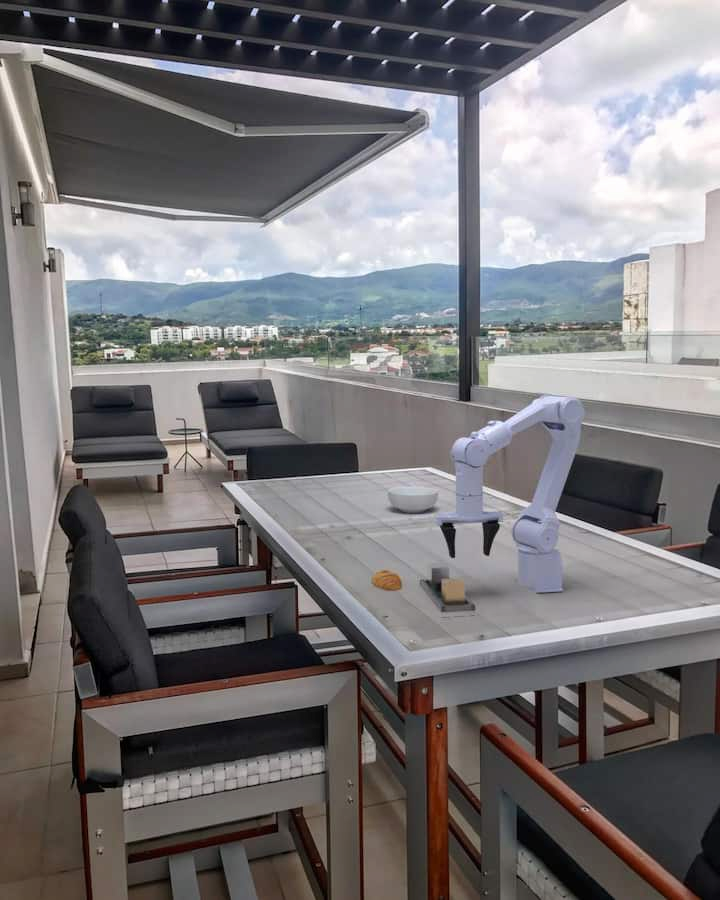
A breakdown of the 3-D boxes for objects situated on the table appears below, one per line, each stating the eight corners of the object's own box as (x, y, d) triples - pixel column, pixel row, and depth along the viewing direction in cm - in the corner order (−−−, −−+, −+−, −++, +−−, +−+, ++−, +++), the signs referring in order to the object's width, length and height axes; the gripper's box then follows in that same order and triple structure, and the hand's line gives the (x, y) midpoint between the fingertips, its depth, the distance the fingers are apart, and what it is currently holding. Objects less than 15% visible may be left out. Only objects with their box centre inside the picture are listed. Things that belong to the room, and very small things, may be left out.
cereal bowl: (422, 517, 263) (422, 496, 262) (378, 512, 272) (378, 491, 271) (446, 508, 277) (446, 488, 276) (404, 504, 286) (404, 484, 285)
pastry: (408, 595, 182) (408, 578, 181) (379, 598, 180) (379, 581, 179) (396, 583, 191) (395, 567, 190) (368, 586, 189) (368, 570, 188)
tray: (449, 587, 186) (449, 578, 186) (475, 615, 167) (475, 605, 166) (419, 589, 185) (419, 579, 185) (441, 617, 166) (441, 607, 165)
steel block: (444, 584, 185) (444, 562, 184) (450, 591, 180) (451, 569, 179) (427, 585, 184) (427, 563, 184) (433, 592, 179) (433, 569, 178)
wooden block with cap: (458, 599, 174) (458, 576, 173) (464, 607, 169) (465, 583, 168) (439, 599, 174) (440, 577, 173) (445, 608, 168) (446, 584, 167)
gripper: (495, 489, 179) (495, 549, 181) (431, 492, 177) (432, 553, 179) (506, 494, 173) (506, 557, 174) (440, 498, 170) (440, 561, 172)
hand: (469, 555), depth 176 cm, fingers open, 7 cm apart
